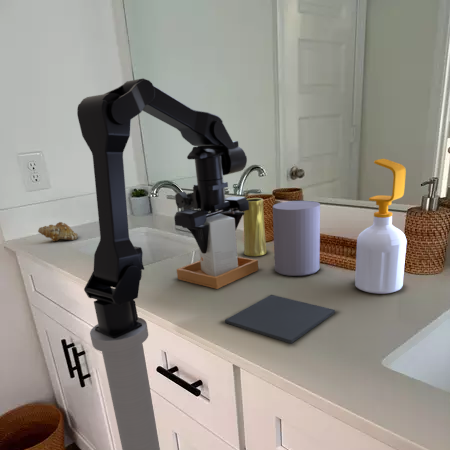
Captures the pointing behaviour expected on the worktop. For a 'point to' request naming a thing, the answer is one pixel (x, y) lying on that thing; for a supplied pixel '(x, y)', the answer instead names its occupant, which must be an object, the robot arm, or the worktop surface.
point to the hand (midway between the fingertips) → (216, 248)
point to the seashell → (58, 232)
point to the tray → (199, 277)
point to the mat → (280, 318)
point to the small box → (220, 246)
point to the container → (296, 237)
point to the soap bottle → (382, 242)
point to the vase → (254, 229)
